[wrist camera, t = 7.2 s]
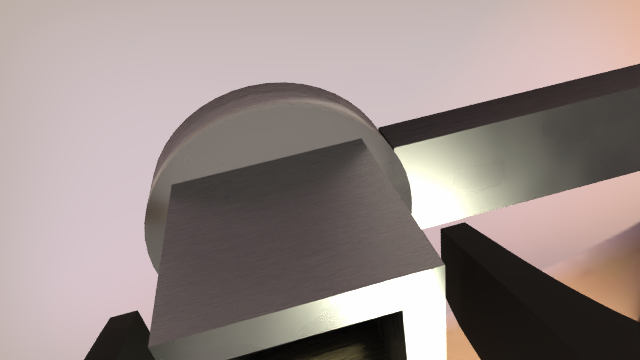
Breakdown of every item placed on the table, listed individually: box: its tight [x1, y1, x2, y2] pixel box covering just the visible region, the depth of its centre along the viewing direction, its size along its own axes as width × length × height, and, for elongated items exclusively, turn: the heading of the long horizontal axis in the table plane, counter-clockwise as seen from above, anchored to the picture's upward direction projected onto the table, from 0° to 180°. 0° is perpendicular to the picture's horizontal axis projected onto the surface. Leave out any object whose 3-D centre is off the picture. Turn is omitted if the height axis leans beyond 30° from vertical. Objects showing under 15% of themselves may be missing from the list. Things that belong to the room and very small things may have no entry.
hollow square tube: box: [148, 138, 446, 360], centre depth 11 cm, size 5×5×5 cm
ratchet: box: [144, 64, 640, 275], centre depth 13 cm, size 18×8×4 cm, turn 99°
